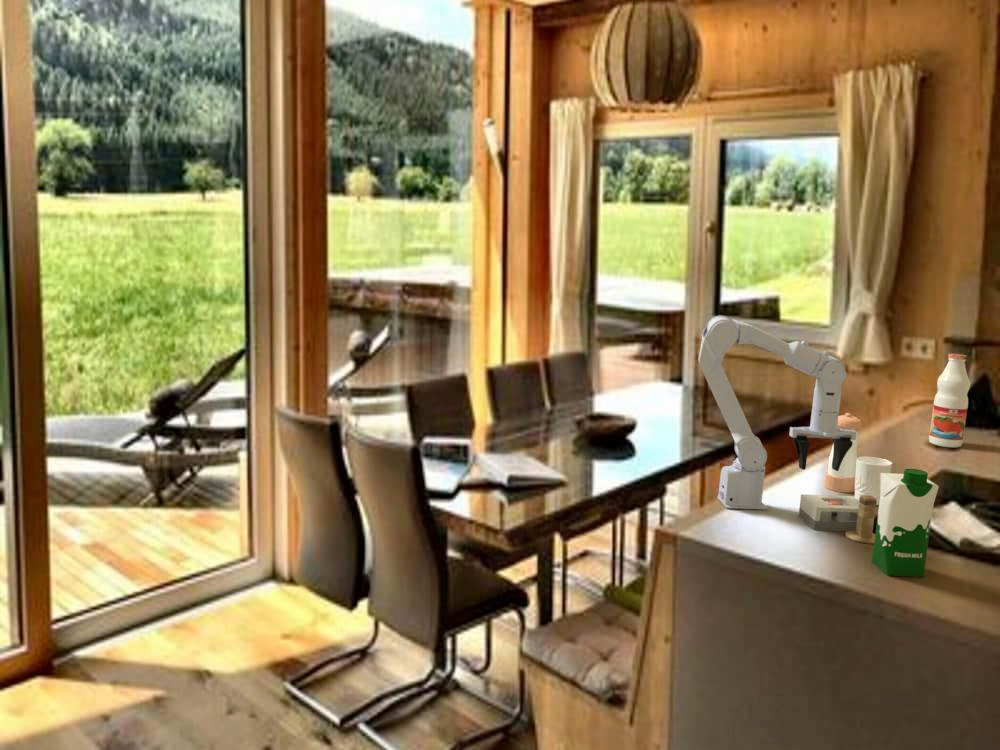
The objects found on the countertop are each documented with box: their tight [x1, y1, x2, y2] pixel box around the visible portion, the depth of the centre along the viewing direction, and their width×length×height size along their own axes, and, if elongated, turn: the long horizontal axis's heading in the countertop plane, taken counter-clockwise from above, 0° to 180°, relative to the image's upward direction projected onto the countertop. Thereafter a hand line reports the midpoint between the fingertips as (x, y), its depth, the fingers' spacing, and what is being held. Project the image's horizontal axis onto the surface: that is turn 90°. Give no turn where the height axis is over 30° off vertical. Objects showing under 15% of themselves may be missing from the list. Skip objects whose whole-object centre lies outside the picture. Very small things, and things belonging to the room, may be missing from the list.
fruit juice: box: [928, 353, 971, 448], centre depth 278 cm, size 9×9×28 cm
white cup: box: [854, 456, 893, 506], centre depth 216 cm, size 8×8×10 cm
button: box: [827, 501, 844, 515], centre depth 198 cm, size 3×3×3 cm
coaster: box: [845, 530, 876, 545], centre depth 190 cm, size 7×7×1 cm
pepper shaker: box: [824, 412, 863, 493], centre depth 224 cm, size 7×7×19 cm
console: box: [798, 494, 859, 532], centre depth 198 cm, size 12×9×5 cm
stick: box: [856, 495, 877, 538], centre depth 189 cm, size 2×2×8 cm
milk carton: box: [870, 468, 940, 578], centre depth 172 cm, size 9×9×20 cm
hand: (818, 469), depth 205 cm, fingers open, 7 cm apart
